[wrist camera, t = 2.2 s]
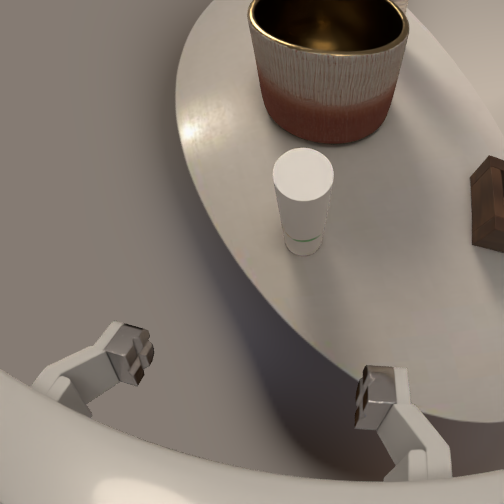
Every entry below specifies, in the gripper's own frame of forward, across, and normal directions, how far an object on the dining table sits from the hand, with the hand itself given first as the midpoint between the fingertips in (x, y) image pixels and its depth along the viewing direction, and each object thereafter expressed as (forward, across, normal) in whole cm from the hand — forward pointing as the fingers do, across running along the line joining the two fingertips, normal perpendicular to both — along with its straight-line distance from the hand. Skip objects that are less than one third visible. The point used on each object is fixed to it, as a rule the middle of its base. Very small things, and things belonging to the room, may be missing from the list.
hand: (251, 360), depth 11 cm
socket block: (+30, -27, +4) cm, 40 cm away
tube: (+25, 0, +8) cm, 27 cm away
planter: (+40, -2, -7) cm, 41 cm away
